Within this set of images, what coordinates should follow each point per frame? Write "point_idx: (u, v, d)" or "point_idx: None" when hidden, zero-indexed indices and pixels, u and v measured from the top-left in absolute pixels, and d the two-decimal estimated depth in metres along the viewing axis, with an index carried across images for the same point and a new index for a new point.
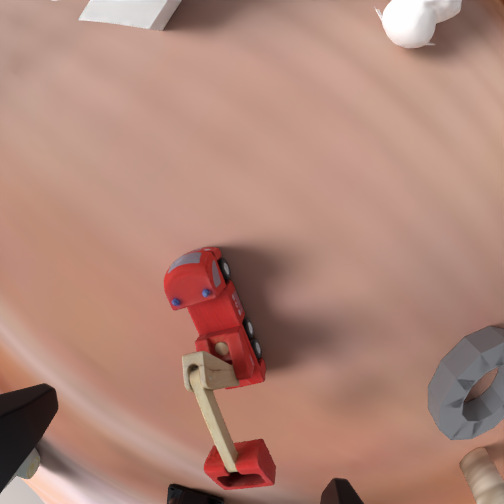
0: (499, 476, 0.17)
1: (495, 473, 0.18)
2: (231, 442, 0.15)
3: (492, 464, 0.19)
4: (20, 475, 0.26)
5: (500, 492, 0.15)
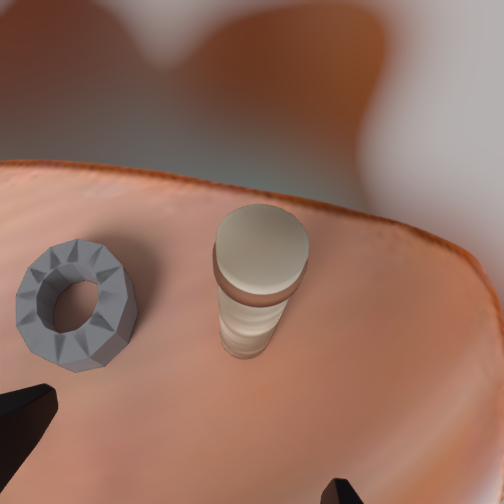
0: None
1: None
2: None
3: None
4: None
5: None
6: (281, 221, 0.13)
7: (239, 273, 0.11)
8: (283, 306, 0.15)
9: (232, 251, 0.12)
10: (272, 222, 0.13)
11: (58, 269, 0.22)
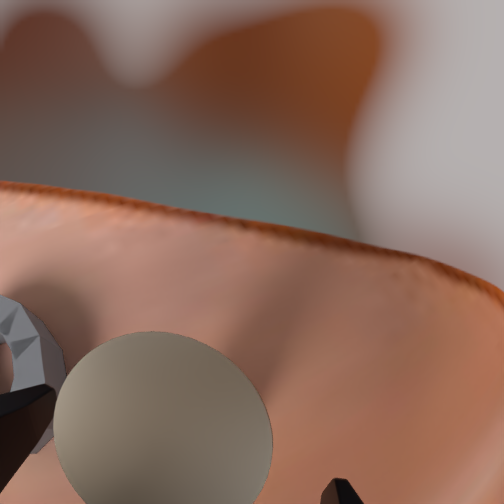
0: None
1: None
2: None
3: None
4: None
5: None
6: (203, 384, 0.05)
7: None
8: None
9: (85, 458, 0.04)
10: (179, 388, 0.04)
11: None
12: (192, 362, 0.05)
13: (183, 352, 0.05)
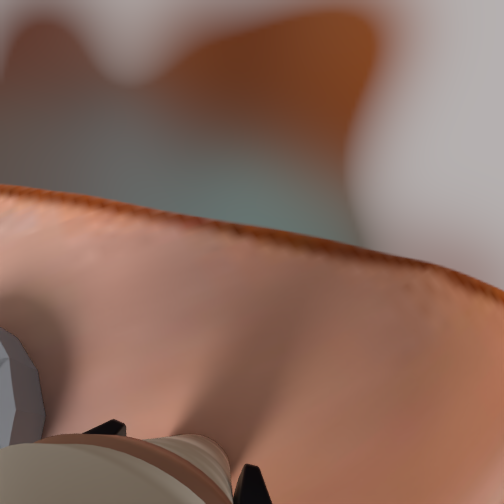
0: None
1: None
2: None
3: None
4: None
5: None
6: None
7: None
8: None
9: None
10: None
11: None
12: (118, 502, 0.02)
13: (104, 485, 0.02)
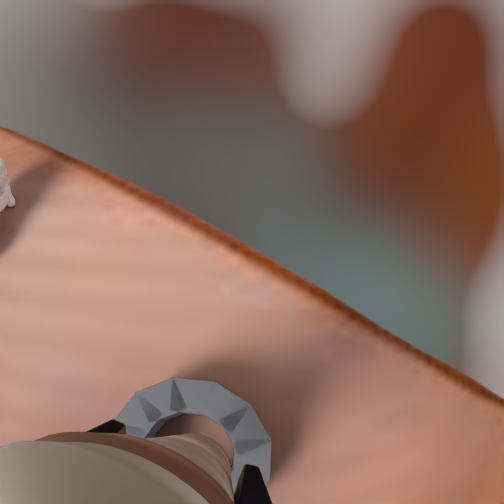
0: None
1: None
2: None
3: None
4: None
5: None
6: None
7: None
8: None
9: None
10: None
11: (180, 411, 0.18)
12: (120, 499, 0.02)
13: (106, 483, 0.02)
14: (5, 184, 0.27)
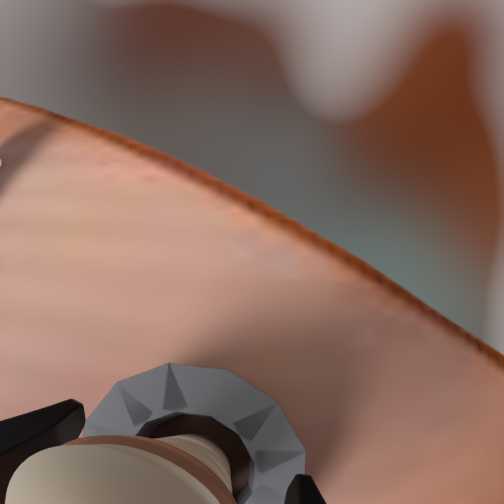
0: None
1: None
2: None
3: None
4: None
5: None
6: None
7: None
8: None
9: None
10: None
11: (178, 411, 0.12)
12: (141, 488, 0.03)
13: (130, 475, 0.03)
14: None
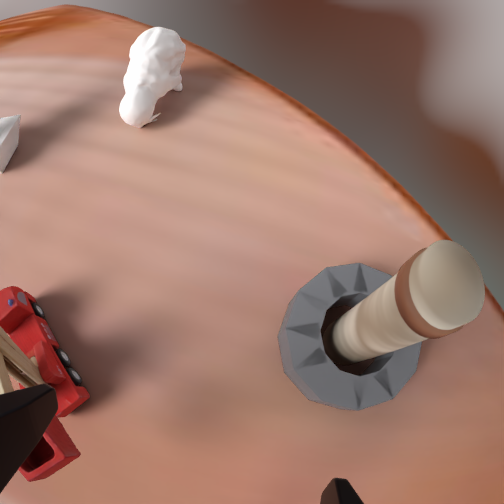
0: None
1: (354, 306, 0.19)
2: None
3: None
4: None
5: (368, 298, 0.16)
6: (467, 264, 0.11)
7: (438, 309, 0.10)
8: None
9: (434, 285, 0.10)
10: (462, 263, 0.11)
11: (359, 294, 0.21)
12: (464, 255, 0.11)
13: (461, 251, 0.11)
14: (177, 69, 0.32)
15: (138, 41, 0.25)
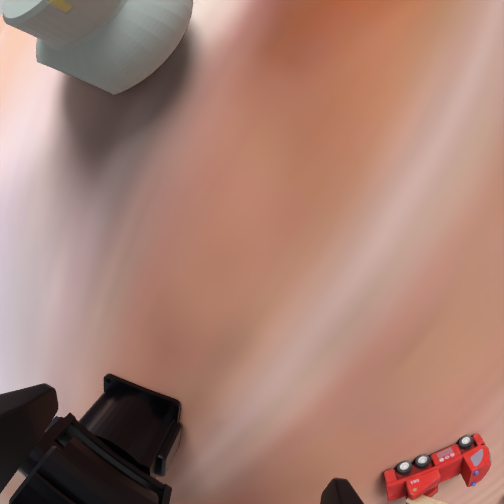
0: None
1: None
2: None
3: None
4: (48, 50, 0.12)
5: None
6: None
7: None
8: None
9: None
10: None
11: None
12: None
13: None
14: None
15: None
